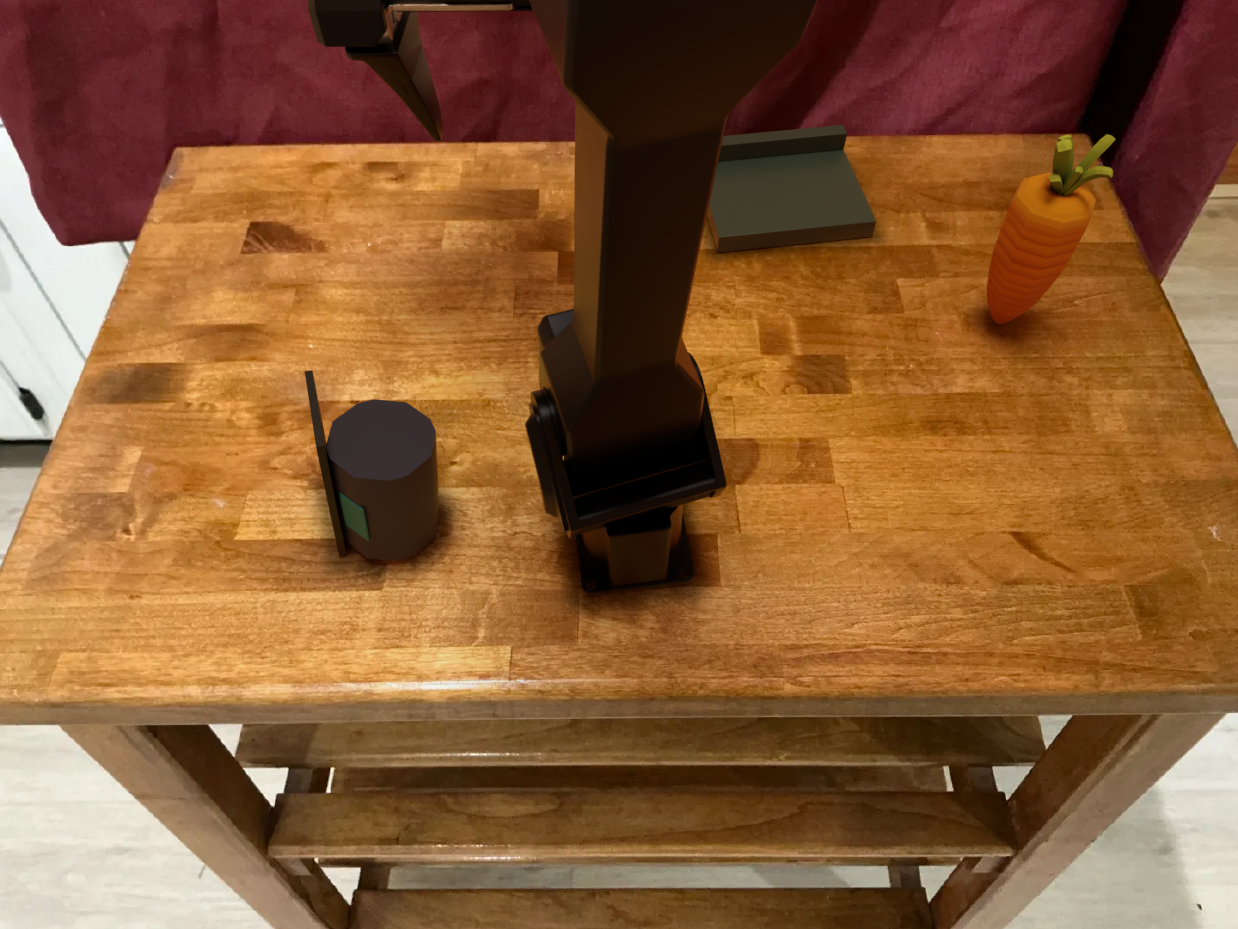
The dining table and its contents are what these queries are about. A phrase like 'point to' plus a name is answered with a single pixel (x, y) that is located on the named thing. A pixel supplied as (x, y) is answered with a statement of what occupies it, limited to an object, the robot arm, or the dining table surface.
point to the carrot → (1042, 230)
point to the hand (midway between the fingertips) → (515, 136)
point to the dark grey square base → (786, 190)
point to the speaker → (379, 476)
